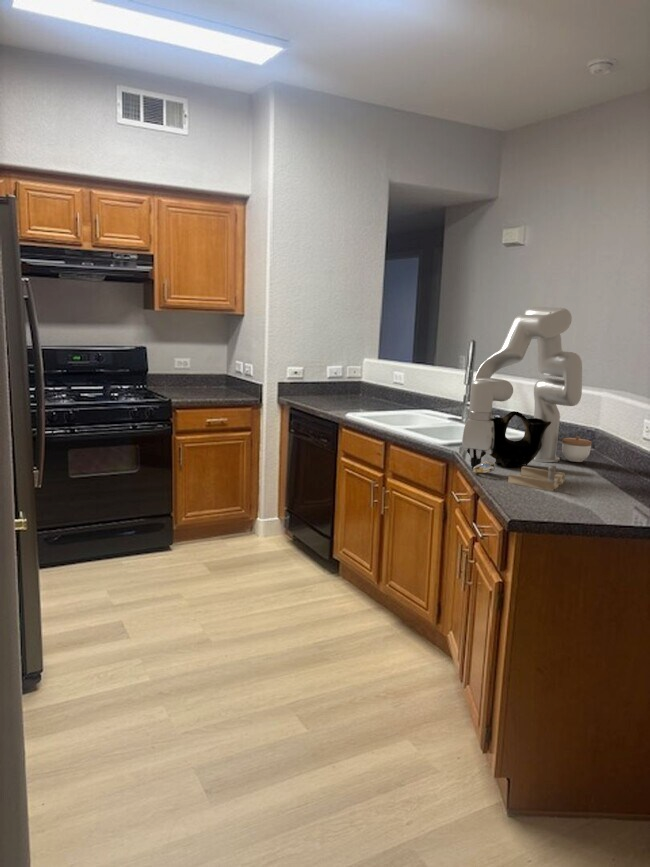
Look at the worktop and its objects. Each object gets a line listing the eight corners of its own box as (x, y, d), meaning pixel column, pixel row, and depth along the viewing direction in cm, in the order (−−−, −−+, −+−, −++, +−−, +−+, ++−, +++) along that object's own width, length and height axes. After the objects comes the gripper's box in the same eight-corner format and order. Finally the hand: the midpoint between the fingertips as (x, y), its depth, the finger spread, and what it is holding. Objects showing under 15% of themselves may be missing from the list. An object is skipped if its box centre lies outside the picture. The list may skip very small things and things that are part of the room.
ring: (471, 476, 222) (476, 469, 215) (470, 467, 223) (475, 460, 216) (491, 476, 222) (497, 469, 215) (490, 467, 224) (496, 460, 216)
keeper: (522, 474, 224) (524, 452, 222) (564, 481, 216) (566, 458, 215) (506, 485, 209) (508, 460, 207) (550, 493, 201) (553, 468, 200)
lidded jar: (592, 464, 245) (595, 440, 243) (562, 461, 247) (565, 437, 245) (586, 458, 255) (589, 435, 254) (558, 456, 257) (560, 432, 256)
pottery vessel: (540, 463, 243) (545, 410, 240) (550, 470, 233) (556, 415, 229) (474, 460, 243) (478, 408, 239) (481, 467, 232) (486, 412, 228)
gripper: (505, 417, 220) (500, 470, 223) (463, 412, 228) (459, 463, 231) (497, 420, 214) (492, 474, 217) (455, 415, 222) (450, 467, 225)
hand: (475, 468), depth 224 cm, fingers closed
